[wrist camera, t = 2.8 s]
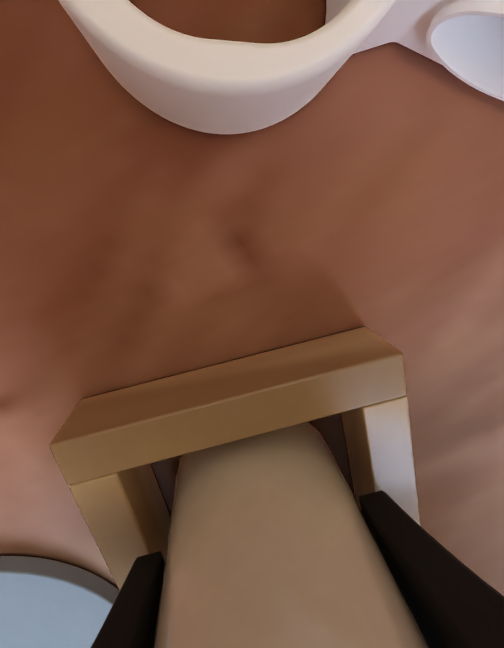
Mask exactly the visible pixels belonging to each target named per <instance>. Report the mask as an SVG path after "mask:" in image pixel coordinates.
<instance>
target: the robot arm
mask: <svg viewBox="0 0 504 648" xmlns="http://www.w3.org/2000/svg"><path fill="white" fill-rule="evenodd" d="M359 500H360V506H361V511H362V513H363V515H364V517H365V519H366V521H367V523H368V525H369V527H370V529H371V531H372V533H373V535H374V537H375V539H376V541H377V543H378V545H379V547H380V549H381V550H382V552H383V554H384V556H385V558H386V560H387V562H388V564H389V566H390V568H391V570H392V572H393V574H394V576H395V578H396V580H397V582H398V584H399V586H400V588H401V590H402V592H403V594H404V596H405V598H406V600H407V602H408V604H409V606H410V607H411V609H412V611H413V613H414V615H415V617H416V619H417V621H418V623H419V625H420V627H421V629H422V631H423V633H424V635H425V637H426V639H427V641H428V643H429V645H430V647H431V648H504V596H502V595H501V594H500V593H499V592H497V591H496V590H495V589H494V588H492V587H491V586H490V585H488V584H487V583H486V582H485V581H483V580H482V579H481V578H480V577H479V576H477V575H476V574H475V573H474V572H472V571H471V570H470V569H469V568H468V567H466V566H465V565H464V564H463V563H462V562H461V561H459V560H458V559H457V558H456V557H455V556H454V555H452V554H451V553H450V552H449V551H448V550H447V549H445V548H444V547H443V546H442V545H441V544H440V543H438V542H437V541H436V540H435V539H434V538H433V537H432V536H431V535H429V534H428V533H427V532H426V531H425V530H424V529H423V528H422V527H421V526H420V525H419V524H418V523H416V522H415V521H414V520H413V519H412V518H411V517H410V516H409V515H408V514H407V513H406V512H405V511H404V510H403V509H402V508H401V507H400V506H399V505H398V504H397V503H396V502H395V501H394V500H393V499H392V498H391V497H390V496H389V495H388V494H387V493H386V492H384V491H382V490H380V491H376V492H373V493H369V494H365V495H362V496H359ZM164 564H165V561H164V558H163V556H162V553H161V551H158V552H155V553H151V554H147V555H144V556H140V557H137V558H136V560H135V561H134V563H133V565H132V567H131V569H130V571H129V573H128V575H127V577H126V579H125V581H124V583H123V585H122V587H121V589H120V591H119V593H118V595H117V597H116V599H115V601H114V603H113V605H112V607H111V609H110V611H109V613H108V615H107V617H106V619H105V621H104V623H103V625H102V627H101V629H100V631H99V633H98V635H97V637H96V639H95V640H94V642H93V644H92V646H91V648H153V646H154V639H155V631H156V624H157V616H158V609H159V601H160V594H161V586H162V579H163V571H164Z"/></svg>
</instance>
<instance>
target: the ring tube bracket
mask: <svg viewBox="0 0 504 648" xmlns="http://www.w3.org/2000/svg"><path fill="white" fill-rule="evenodd" d="M58 1H59V3H60V4H61V5H62V7H63V8H64V10H65V11H66V12H67V14H68V15H69V17H70V18H71V19H72V21H73V22H74V24H75V25H76V26H77V28H78V29H79V31H80V32H81V34H82V35H83V36H84V38H85V39H86V41H87V42H88V43H89V45H90V46H91V48H92V49H93V50H94V52H95V53H96V55H97V56H98V57H99V59H100V60H101V62H102V63H103V64H104V66H105V67H106V68H107V70H108V71H109V72H110V73H111V74H112V76H113V77H114V78H115V79H116V80H117V81H118V82H119V83H120V85H121V86H122V87H123V88H124V89H125V90H126V91H127V92H129V93H130V94H131V95H132V96H133V97H134V98H135V99H137V100H138V101H139V102H140V103H142V104H143V105H144V106H146V107H147V108H148V109H150V110H151V111H153V112H154V113H156V114H158V115H159V116H161V117H163V118H165V119H167V120H169V121H171V122H173V123H175V124H178V125H180V126H183V127H186V128H189V129H192V130H196V131H200V132H205V133H212V134H241V133H247V132H252V131H257V130H260V129H263V128H266V127H269V126H271V125H274V124H276V123H278V122H280V121H282V120H284V119H286V118H288V117H289V116H291V115H292V114H294V113H296V112H297V111H298V110H300V109H301V108H302V107H304V106H305V105H306V104H307V103H308V102H309V101H311V100H312V99H313V98H314V97H315V96H316V95H317V94H318V93H319V92H320V91H321V89H322V88H323V87H324V86H325V85H326V84H327V83H328V81H329V80H330V79H331V78H332V77H333V76H334V75H335V73H336V72H337V71H338V70H339V69H340V68H341V67H342V65H343V64H344V63H345V62H346V61H347V60H348V59H349V57H350V56H351V55H352V54H355V53H358V52H361V51H364V50H367V49H370V48H374V47H377V46H380V45H383V44H386V43H389V42H397V43H399V44H401V45H403V46H405V47H407V48H409V49H411V50H413V51H415V52H417V53H419V54H421V55H423V56H425V57H427V58H429V59H431V60H433V61H435V62H437V63H439V64H441V65H443V66H444V67H445V68H446V69H447V70H448V71H449V72H451V73H452V74H453V75H454V76H456V77H457V78H459V79H460V80H461V81H463V82H465V83H466V84H468V85H470V86H471V87H473V88H475V89H477V90H479V91H481V92H483V93H485V94H487V95H490V96H492V97H494V98H497V99H500V100H502V101H504V0H326V20H325V25H324V26H323V27H321V28H320V29H318V30H316V31H314V32H312V33H310V34H308V35H306V36H304V37H301V38H298V39H295V40H291V41H287V42H281V43H266V44H265V43H251V42H239V41H227V40H215V39H205V38H198V37H193V36H189V35H186V34H182V33H179V32H177V31H174V30H172V29H170V28H167V27H165V26H163V25H161V24H160V23H158V22H156V21H155V20H153V19H151V18H150V17H148V16H147V15H146V14H144V13H143V12H142V11H140V10H139V9H138V8H137V7H135V6H134V5H133V4H132V3H131V2H130V1H129V0H58Z"/></svg>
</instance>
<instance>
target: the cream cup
mask: <svg viewBox="0 0 504 648" xmlns="http://www.w3.org/2000/svg"><path fill="white" fill-rule="evenodd" d="M153 648H431V647H430V645H429V643H428V641H427V639H426V637H425V635H424V633H423V631H422V629H421V627H420V625H419V623H418V621H417V619H416V617H415V615H414V613H413V611H412V609H411V607H410V606H409V604H408V602H407V600H406V598H405V596H404V594H403V592H402V590H401V588H400V586H399V584H398V582H397V580H396V578H395V576H394V574H393V572H392V570H391V568H390V566H389V564H388V562H387V560H386V558H385V556H384V554H383V552H382V550H381V549H380V547H379V545H378V543H377V541H376V539H375V537H374V535H373V533H372V531H371V529H370V527H369V525H368V523H367V521H366V519H365V517H364V515H363V513H362V511H361V509H360V507H359V505H358V503H357V501H356V499H355V497H354V495H353V493H352V492H351V490H350V488H349V486H348V484H347V482H346V480H345V478H344V476H343V474H342V472H341V470H340V468H339V466H338V464H337V462H336V460H335V458H334V456H333V454H332V452H331V450H330V448H329V446H328V444H327V442H326V441H325V439H324V438H323V436H322V435H321V434H320V433H319V432H318V431H317V429H316V428H314V427H313V426H312V425H311V424H310V423H308V422H304V423H300V424H297V425H293V426H289V427H285V428H282V429H278V430H274V431H270V432H266V433H263V434H259V435H255V436H251V437H248V438H244V439H240V440H236V441H233V442H229V443H225V444H221V445H218V446H214V447H210V448H206V449H202V450H199V451H195V452H191V453H187V454H184V455H182V457H181V459H180V462H179V465H178V469H177V474H176V482H175V489H174V497H173V504H172V512H171V519H170V527H169V534H168V542H167V549H166V556H165V564H164V571H163V579H162V586H161V594H160V601H159V609H158V616H157V624H156V631H155V639H154V646H153Z"/></svg>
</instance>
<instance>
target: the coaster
mask: <svg viewBox="0 0 504 648" xmlns="http://www.w3.org/2000/svg"><path fill="white" fill-rule="evenodd" d="M118 593H119V590H118V589H117V588H116V587H114V586H113V585H111V584H110V583H108V582H107V581H106V580H104V579H102V578H100V577H98V576H97V575H95V574H93V573H91V572H89V571H86V570H84V569H81V568H78V567H76V566H73V565H70V564H66V563H63V562H59V561H55V560H50V559H44V558H38V557H27V556H0V648H91V646H92V644H93V642H94V640H95V639H96V637H97V635H98V633H99V631H100V629H101V627H102V625H103V623H104V621H105V619H106V617H107V615H108V613H109V611H110V609H111V607H112V605H113V603H114V601H115V599H116V597H117V595H118Z"/></svg>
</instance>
